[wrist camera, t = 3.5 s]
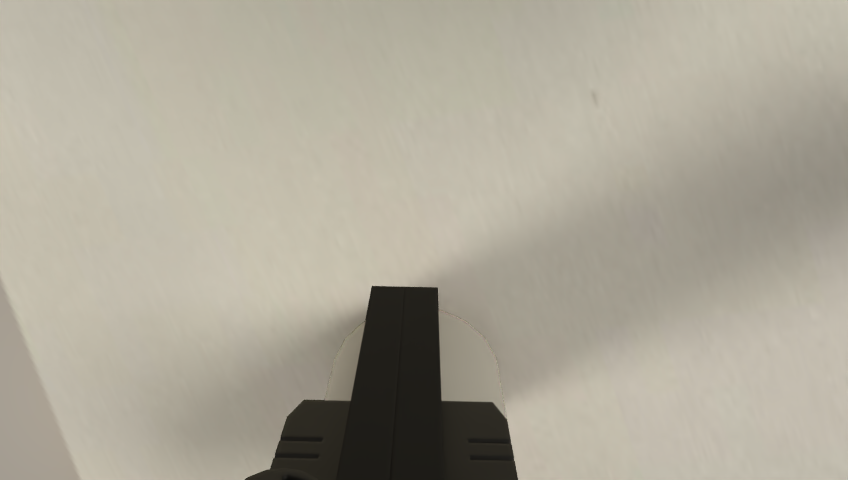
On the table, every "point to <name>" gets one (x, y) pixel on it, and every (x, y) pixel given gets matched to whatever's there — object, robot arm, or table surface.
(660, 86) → the table surface
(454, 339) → the can
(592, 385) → the table surface
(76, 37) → the table surface
